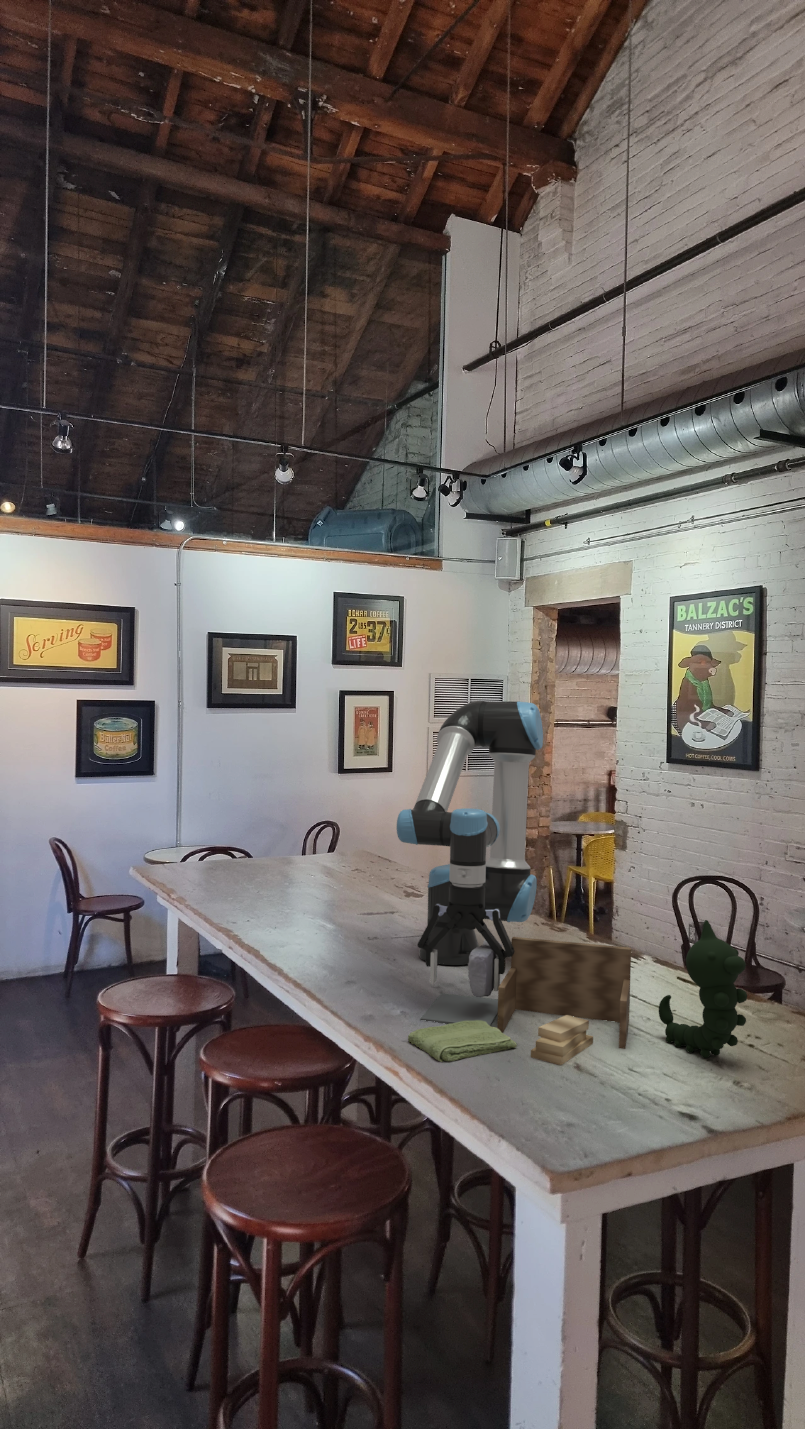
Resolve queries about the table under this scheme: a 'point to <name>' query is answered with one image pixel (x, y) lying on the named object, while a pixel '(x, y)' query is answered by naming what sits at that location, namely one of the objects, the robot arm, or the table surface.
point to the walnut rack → (567, 982)
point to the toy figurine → (709, 996)
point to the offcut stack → (562, 1039)
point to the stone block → (482, 970)
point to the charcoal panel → (461, 1009)
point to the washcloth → (460, 1040)
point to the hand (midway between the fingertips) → (464, 985)
